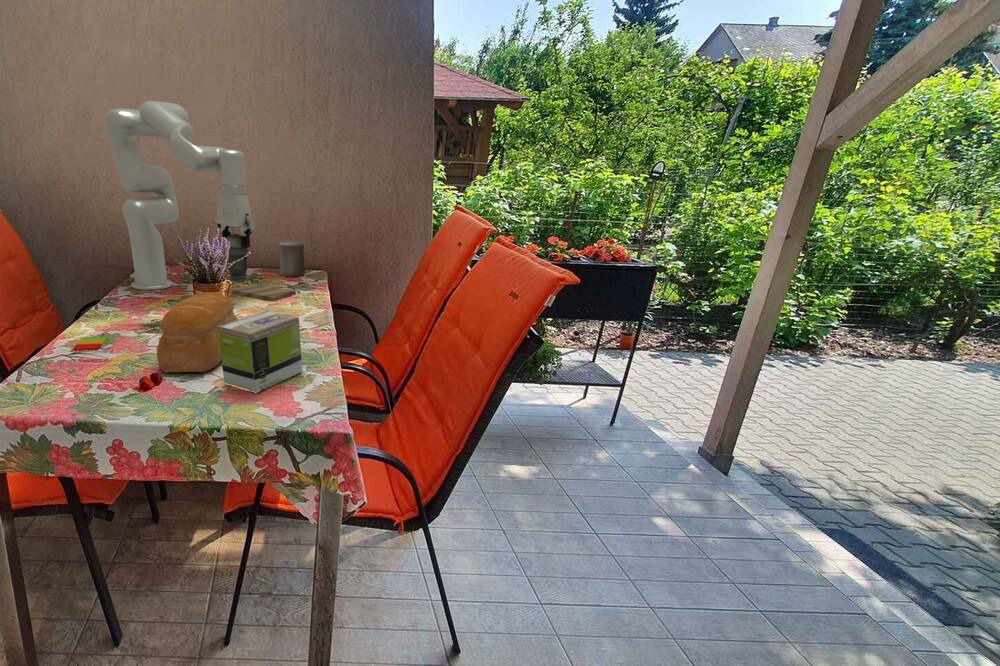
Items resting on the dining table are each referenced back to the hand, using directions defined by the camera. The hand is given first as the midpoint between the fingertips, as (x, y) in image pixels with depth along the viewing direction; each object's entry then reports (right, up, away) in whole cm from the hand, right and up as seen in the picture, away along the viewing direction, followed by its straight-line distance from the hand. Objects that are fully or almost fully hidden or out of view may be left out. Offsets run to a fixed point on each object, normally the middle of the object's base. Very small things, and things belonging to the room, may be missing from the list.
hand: (236, 245), depth 174 cm
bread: (+10, -35, -37) cm, 52 cm away
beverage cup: (-1, -11, +4) cm, 12 cm away
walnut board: (0, -15, +21) cm, 26 cm away
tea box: (+31, -40, -48) cm, 69 cm away
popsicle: (-20, -32, -35) cm, 52 cm away
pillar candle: (-2, -4, +53) cm, 53 cm away
